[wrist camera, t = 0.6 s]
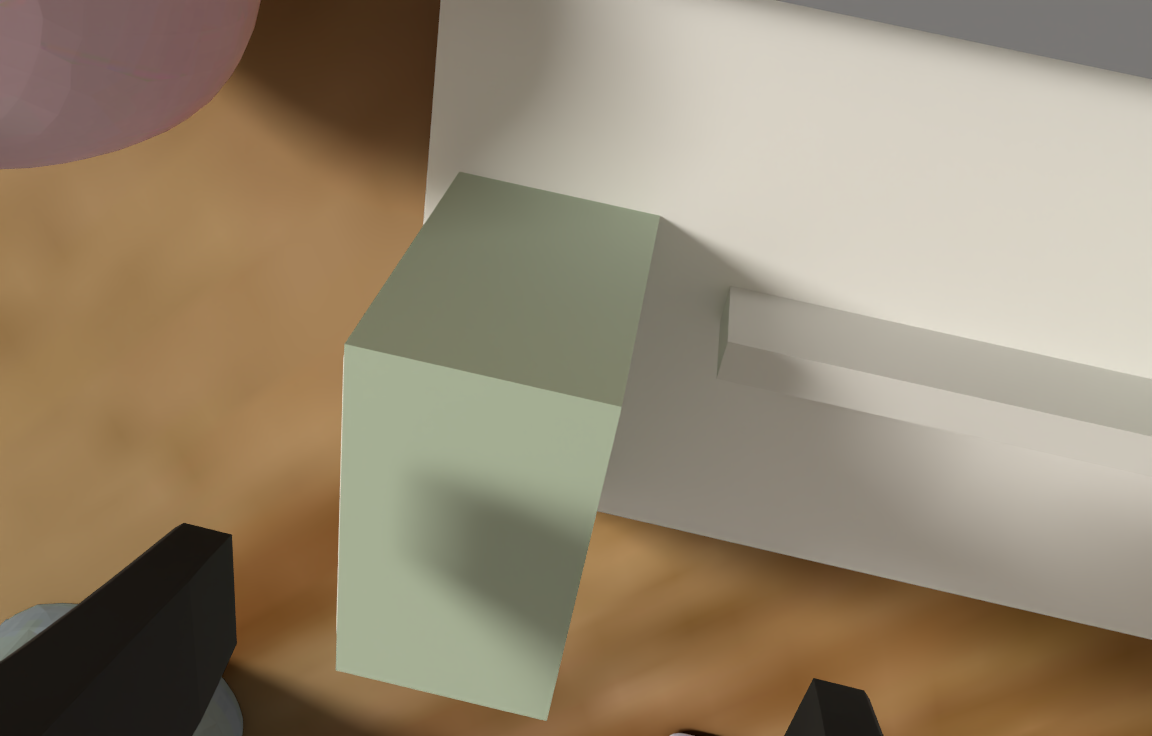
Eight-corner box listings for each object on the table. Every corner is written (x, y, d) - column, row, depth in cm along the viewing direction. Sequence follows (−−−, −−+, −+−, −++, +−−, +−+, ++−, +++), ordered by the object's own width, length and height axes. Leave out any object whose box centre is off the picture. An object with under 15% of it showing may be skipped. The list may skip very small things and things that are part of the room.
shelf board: (1426, 666, 22) (1516, 793, 20) (419, 434, 23) (375, 526, 20) (1991, 135, 15) (2257, 225, 12) (473, -176, 16) (414, -156, 13)
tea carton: (595, 493, 22) (546, 720, 17) (424, 454, 22) (327, 668, 17) (659, 215, 18) (621, 406, 13) (451, 169, 18) (333, 341, 13)
